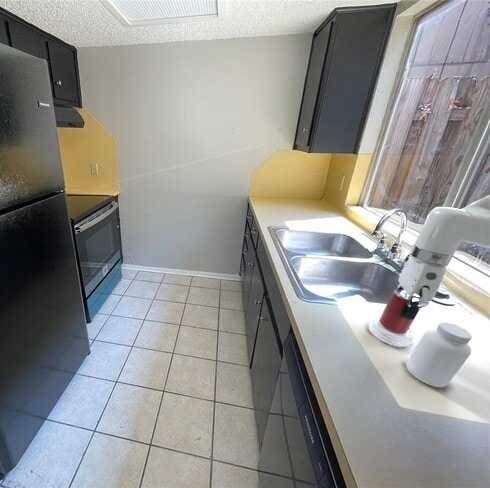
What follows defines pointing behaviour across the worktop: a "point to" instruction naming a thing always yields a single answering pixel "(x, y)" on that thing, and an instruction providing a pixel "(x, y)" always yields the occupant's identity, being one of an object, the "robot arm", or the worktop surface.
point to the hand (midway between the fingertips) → (401, 309)
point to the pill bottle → (440, 354)
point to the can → (396, 312)
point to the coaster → (390, 334)
